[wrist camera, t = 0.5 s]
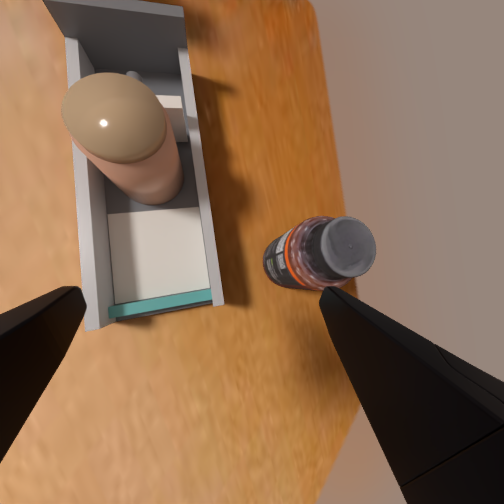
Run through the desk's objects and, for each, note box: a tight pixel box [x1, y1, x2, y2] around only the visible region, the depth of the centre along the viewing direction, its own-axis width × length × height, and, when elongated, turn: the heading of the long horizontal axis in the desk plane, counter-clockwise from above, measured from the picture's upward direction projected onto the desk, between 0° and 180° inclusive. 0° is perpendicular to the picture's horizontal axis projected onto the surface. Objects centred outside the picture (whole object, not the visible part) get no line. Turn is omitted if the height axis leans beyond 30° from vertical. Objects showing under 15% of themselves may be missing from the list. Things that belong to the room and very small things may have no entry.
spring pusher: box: [126, 71, 188, 142], centre depth 19 cm, size 5×8×4 cm, turn 99°
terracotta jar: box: [61, 73, 184, 205], centre depth 17 cm, size 7×7×8 cm
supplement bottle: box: [263, 216, 376, 291], centre depth 18 cm, size 6×6×11 cm
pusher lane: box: [43, 0, 224, 332], centre depth 18 cm, size 28×11×6 cm, turn 9°
